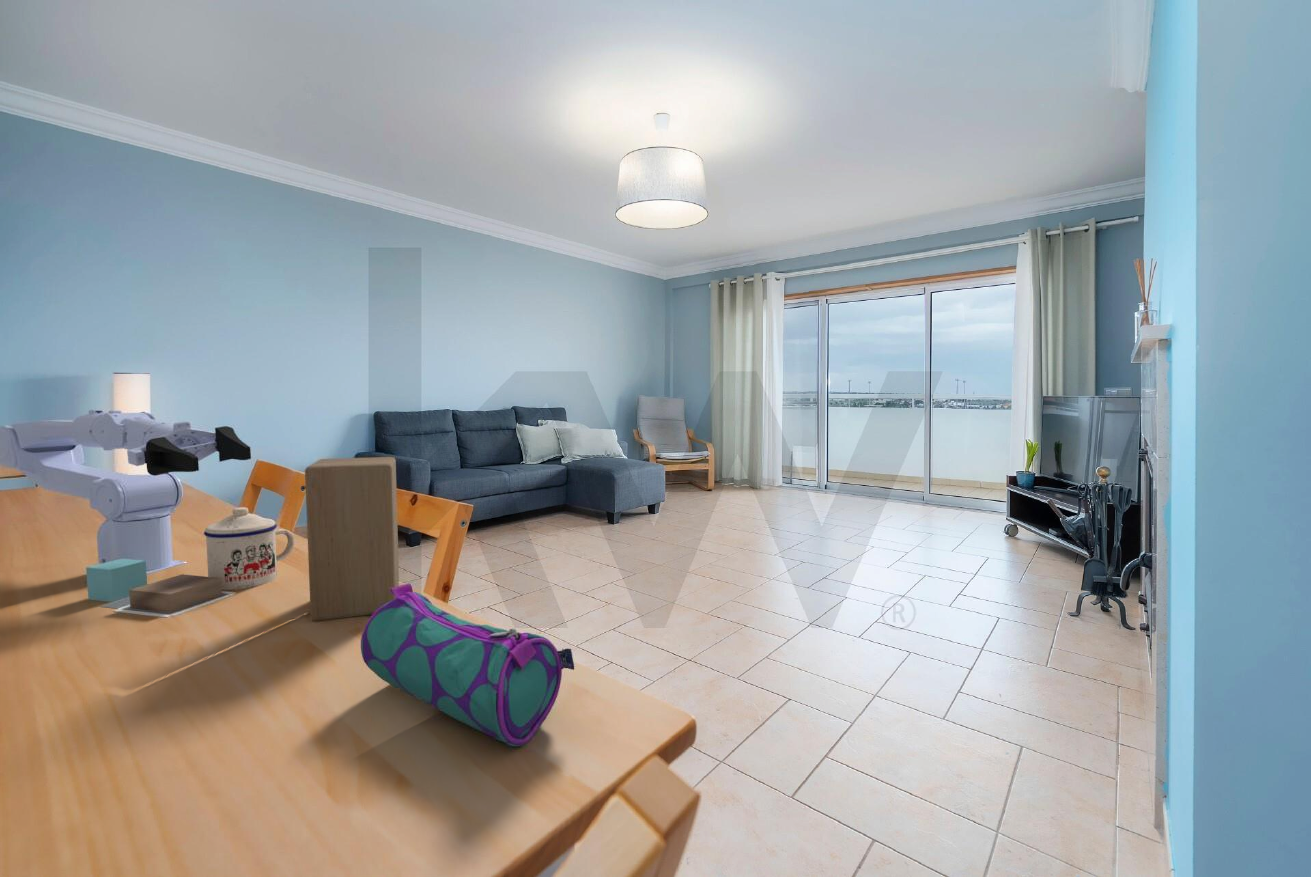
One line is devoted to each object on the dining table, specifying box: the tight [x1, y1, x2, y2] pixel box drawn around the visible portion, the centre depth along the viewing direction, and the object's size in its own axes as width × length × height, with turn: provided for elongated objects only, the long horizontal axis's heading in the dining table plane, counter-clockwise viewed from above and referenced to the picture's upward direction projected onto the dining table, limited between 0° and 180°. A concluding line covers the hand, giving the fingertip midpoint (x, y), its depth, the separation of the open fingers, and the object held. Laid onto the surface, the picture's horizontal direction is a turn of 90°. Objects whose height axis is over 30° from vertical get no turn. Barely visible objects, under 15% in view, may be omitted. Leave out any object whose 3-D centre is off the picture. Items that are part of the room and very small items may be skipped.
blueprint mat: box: [100, 590, 237, 619], centre depth 82 cm, size 13×10×1 cm
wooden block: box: [304, 456, 400, 621], centre depth 81 cm, size 10×10×20 cm
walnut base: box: [129, 573, 223, 613], centre depth 82 cm, size 7×7×2 cm
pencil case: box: [360, 582, 575, 747], centre depth 56 cm, size 21×9×10 cm, turn 56°
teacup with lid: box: [203, 506, 295, 591], centre depth 92 cm, size 12×9×12 cm
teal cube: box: [85, 559, 148, 603], centre depth 84 cm, size 4×4×5 cm
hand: (223, 458), depth 89 cm, fingers open, 7 cm apart
